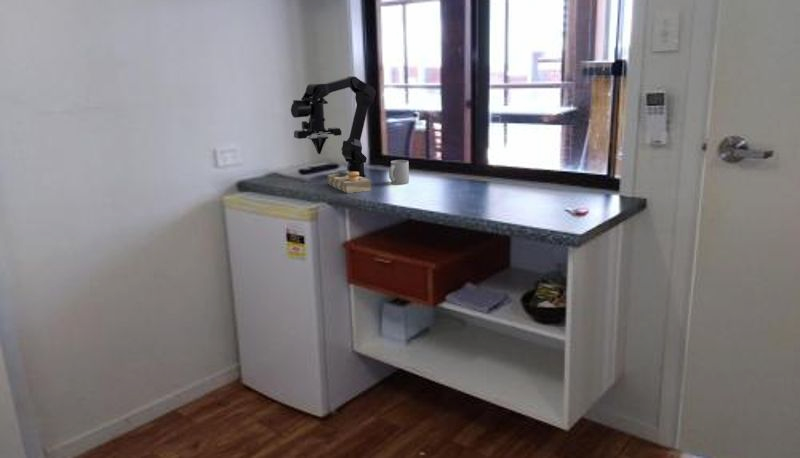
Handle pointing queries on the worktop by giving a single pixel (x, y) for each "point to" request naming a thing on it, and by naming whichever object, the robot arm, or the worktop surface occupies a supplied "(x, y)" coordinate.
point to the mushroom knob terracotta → (353, 176)
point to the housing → (349, 183)
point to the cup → (399, 172)
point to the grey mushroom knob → (343, 173)
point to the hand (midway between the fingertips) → (319, 154)
